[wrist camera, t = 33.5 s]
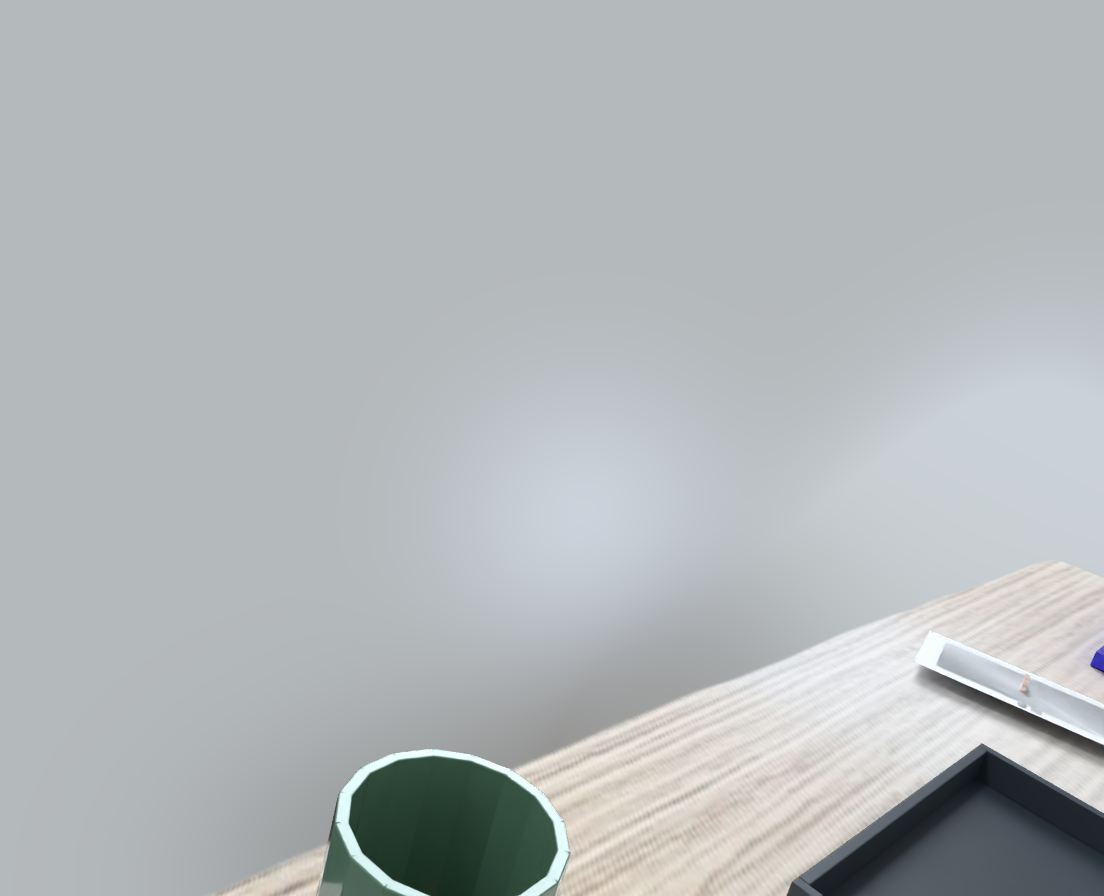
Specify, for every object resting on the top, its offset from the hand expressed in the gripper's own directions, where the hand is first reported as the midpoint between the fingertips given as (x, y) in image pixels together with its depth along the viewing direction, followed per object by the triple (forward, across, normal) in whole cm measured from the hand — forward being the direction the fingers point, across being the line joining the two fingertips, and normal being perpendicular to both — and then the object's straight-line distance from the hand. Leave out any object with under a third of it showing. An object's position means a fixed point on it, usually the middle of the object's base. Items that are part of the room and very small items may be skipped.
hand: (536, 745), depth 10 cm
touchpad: (+56, +42, -24) cm, 74 cm away
